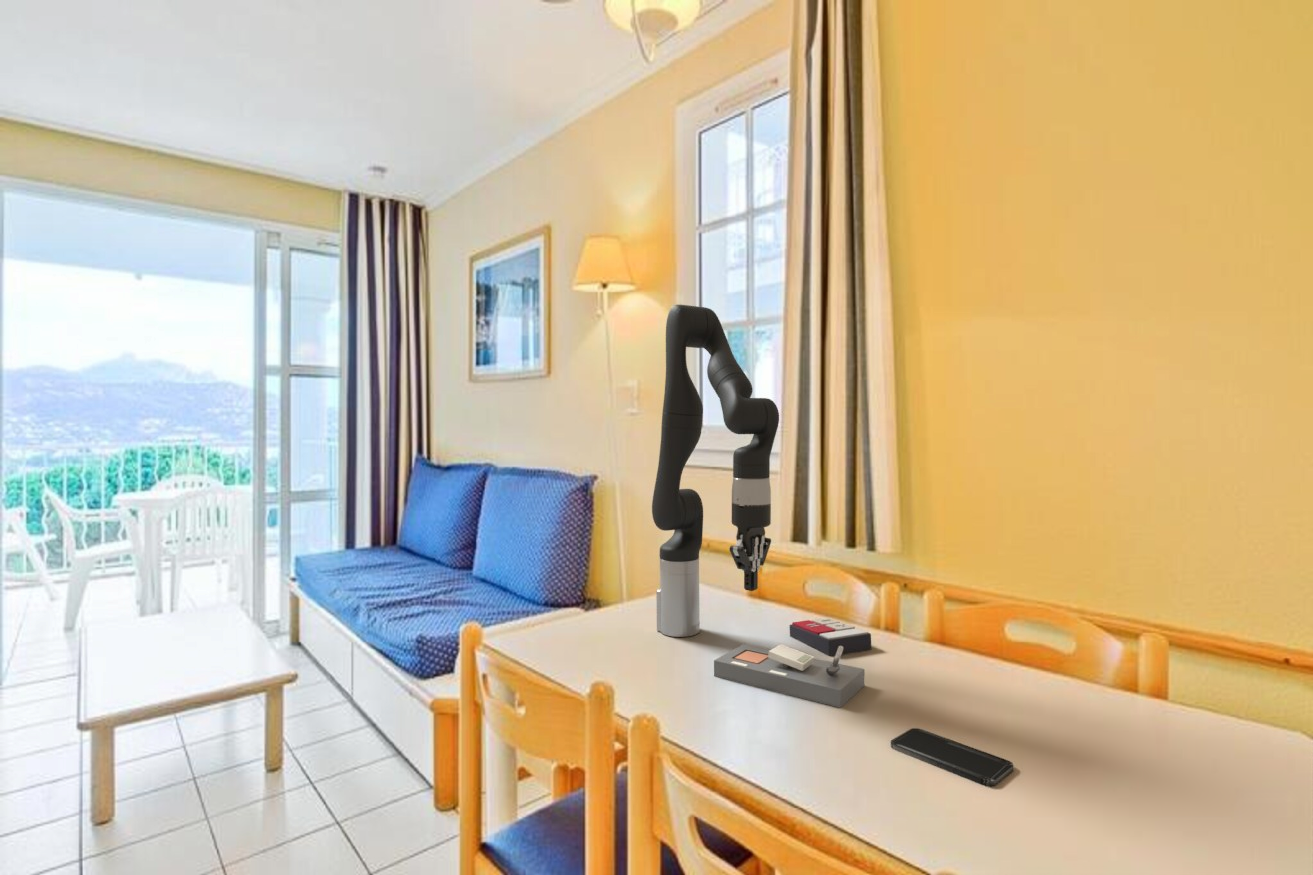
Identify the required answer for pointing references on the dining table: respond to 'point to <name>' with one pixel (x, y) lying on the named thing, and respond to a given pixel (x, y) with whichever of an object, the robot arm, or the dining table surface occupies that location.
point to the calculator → (831, 636)
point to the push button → (752, 657)
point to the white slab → (791, 657)
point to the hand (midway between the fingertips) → (750, 589)
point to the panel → (792, 677)
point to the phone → (953, 756)
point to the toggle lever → (835, 663)
